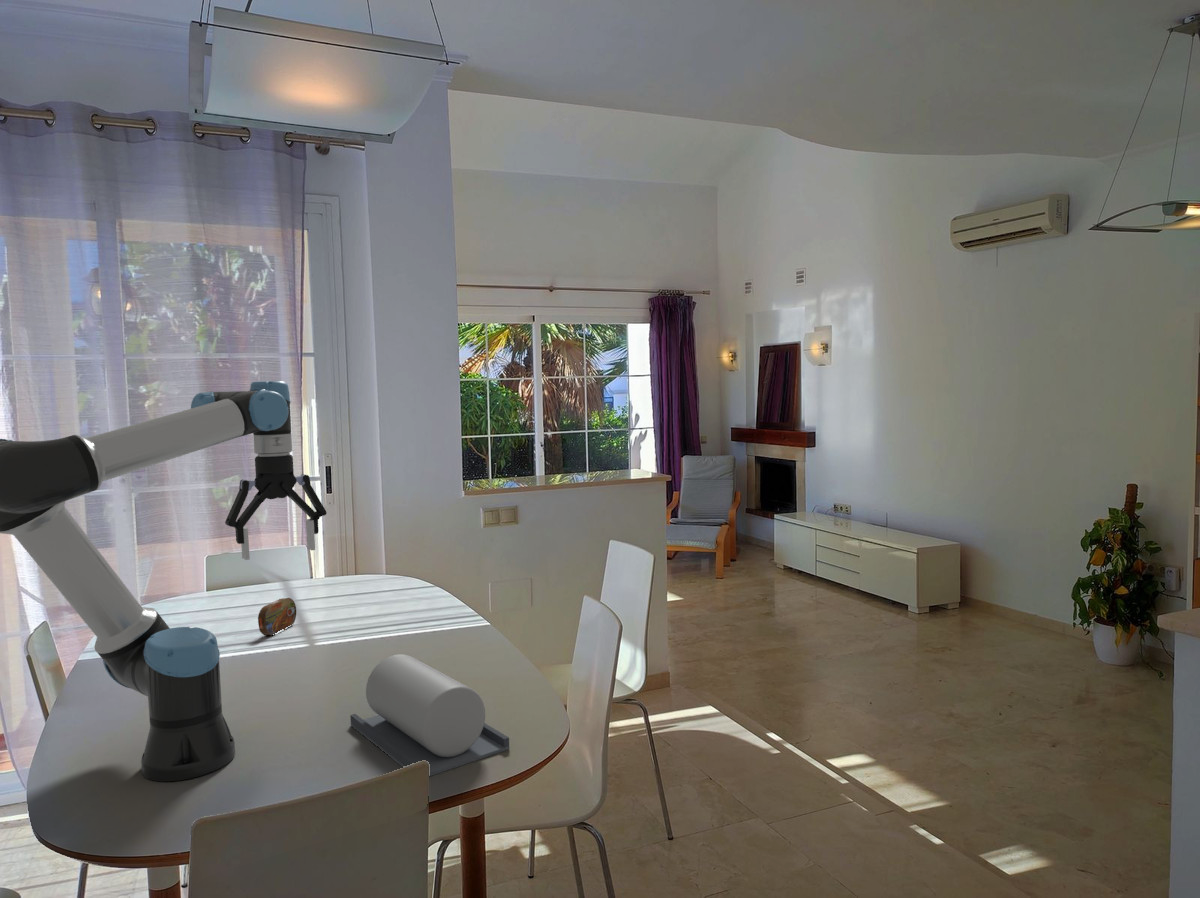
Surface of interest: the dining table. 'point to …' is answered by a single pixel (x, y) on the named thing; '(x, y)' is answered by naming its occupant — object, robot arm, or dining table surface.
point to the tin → (276, 616)
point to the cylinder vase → (426, 705)
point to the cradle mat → (411, 751)
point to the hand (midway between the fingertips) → (279, 554)
